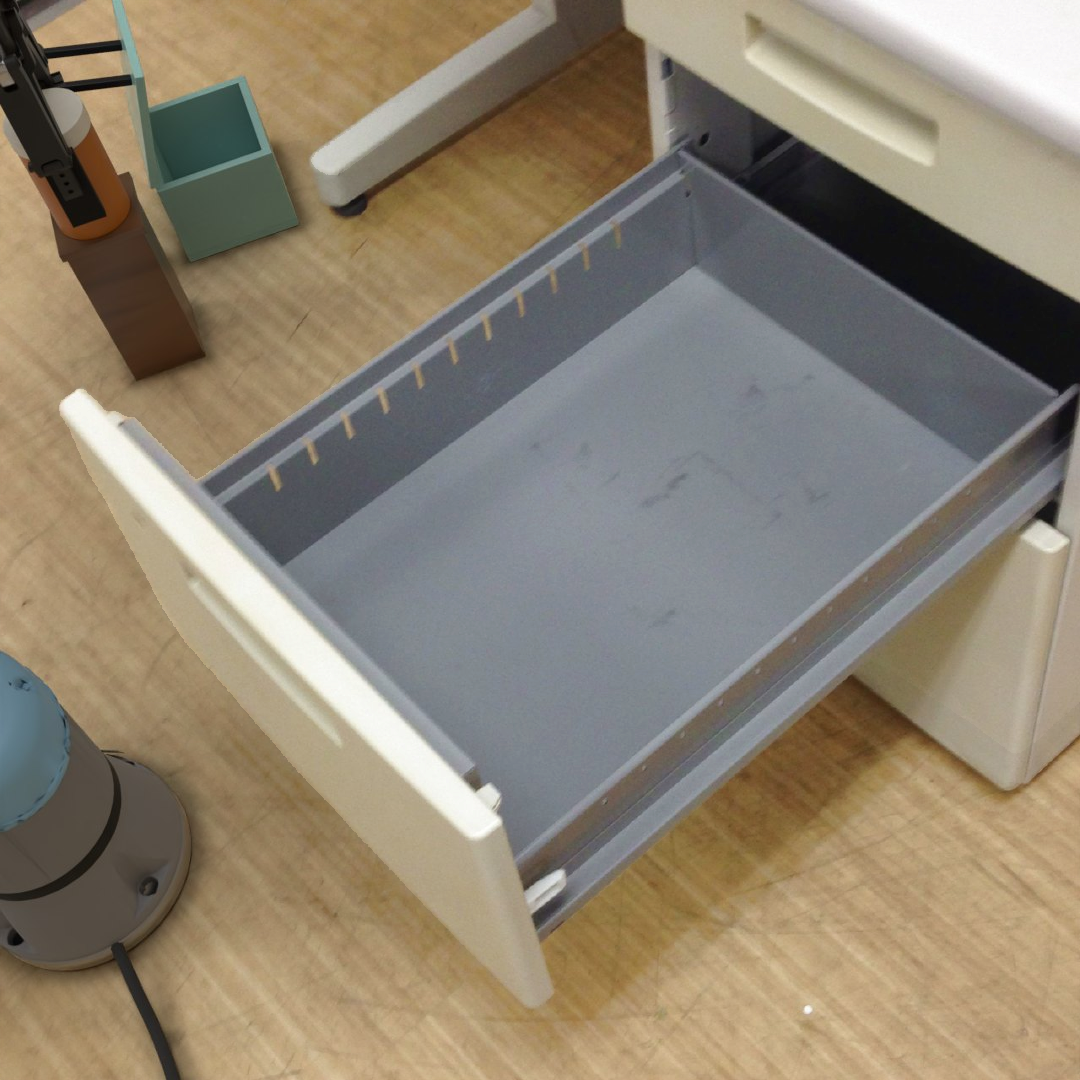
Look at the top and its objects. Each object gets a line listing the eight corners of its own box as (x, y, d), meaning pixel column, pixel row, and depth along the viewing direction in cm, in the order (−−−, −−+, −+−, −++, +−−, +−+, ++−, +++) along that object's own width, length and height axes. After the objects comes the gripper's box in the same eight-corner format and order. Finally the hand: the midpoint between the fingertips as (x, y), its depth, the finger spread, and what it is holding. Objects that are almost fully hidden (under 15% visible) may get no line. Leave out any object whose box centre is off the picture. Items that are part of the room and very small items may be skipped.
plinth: (209, 357, 133) (143, 226, 120) (133, 384, 132) (58, 256, 119) (194, 303, 137) (128, 170, 124) (120, 329, 136) (46, 199, 123)
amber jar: (137, 224, 120) (88, 127, 112) (62, 251, 119) (7, 155, 111) (124, 175, 123) (76, 77, 115) (51, 200, 123) (-3, 104, 115)
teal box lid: (120, -4, 130) (10, 8, 127) (144, 76, 123) (28, 90, 121) (137, 107, 139) (34, 120, 136) (159, 188, 132) (52, 203, 130)
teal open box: (272, 147, 147) (244, 74, 140) (299, 224, 140) (272, 152, 133) (167, 183, 146) (134, 112, 139) (190, 262, 140) (157, 192, 132)
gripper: (18, -4, 95) (149, 255, 114) (-17, -158, 106) (108, 102, 125) (-98, 35, 95) (54, 288, 114) (-121, -124, 106) (21, 132, 125)
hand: (82, 190), depth 119 cm, fingers closed on amber jar, 6 cm apart
